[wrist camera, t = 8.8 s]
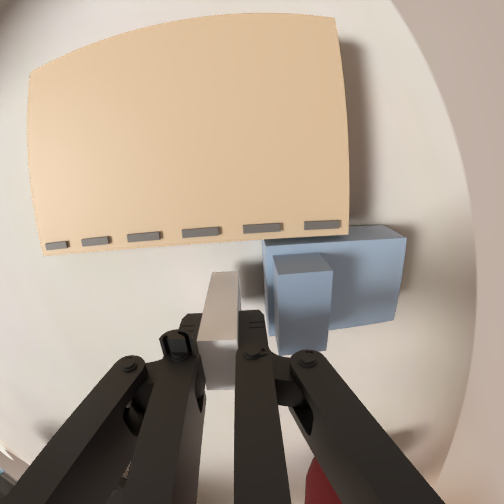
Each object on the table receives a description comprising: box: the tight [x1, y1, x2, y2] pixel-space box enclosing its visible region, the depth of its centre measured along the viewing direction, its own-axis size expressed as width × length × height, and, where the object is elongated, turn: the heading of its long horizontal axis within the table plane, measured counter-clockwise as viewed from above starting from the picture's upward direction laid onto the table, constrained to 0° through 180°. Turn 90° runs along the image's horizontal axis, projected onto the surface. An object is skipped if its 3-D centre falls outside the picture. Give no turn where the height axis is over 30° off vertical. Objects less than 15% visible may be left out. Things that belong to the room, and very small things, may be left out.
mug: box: [305, 457, 342, 504], centre depth 21 cm, size 11×8×10 cm
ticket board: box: [27, 13, 349, 256], centre depth 13 cm, size 18×12×3 cm, turn 93°
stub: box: [262, 225, 407, 356], centre depth 15 cm, size 8×5×5 cm
